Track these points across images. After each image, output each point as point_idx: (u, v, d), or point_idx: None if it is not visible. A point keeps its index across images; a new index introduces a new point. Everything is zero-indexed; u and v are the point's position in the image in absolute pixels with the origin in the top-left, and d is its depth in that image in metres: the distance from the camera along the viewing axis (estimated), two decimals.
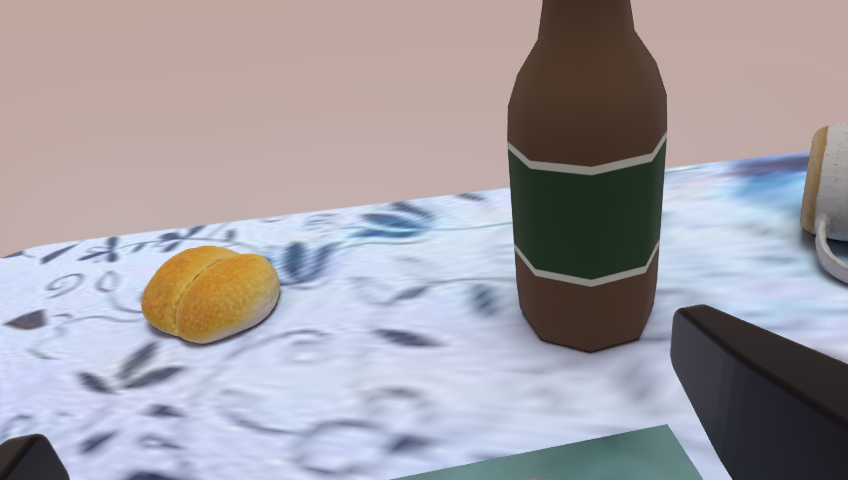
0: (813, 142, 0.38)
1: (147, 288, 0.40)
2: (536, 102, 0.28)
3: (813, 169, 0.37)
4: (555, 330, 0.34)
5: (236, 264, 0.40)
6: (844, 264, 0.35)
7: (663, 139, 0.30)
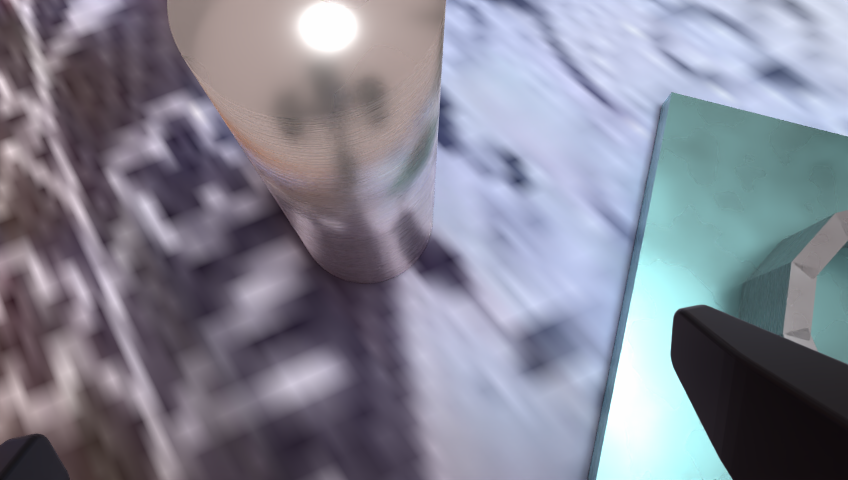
0: None
1: None
2: None
3: None
4: None
5: None
6: None
7: None
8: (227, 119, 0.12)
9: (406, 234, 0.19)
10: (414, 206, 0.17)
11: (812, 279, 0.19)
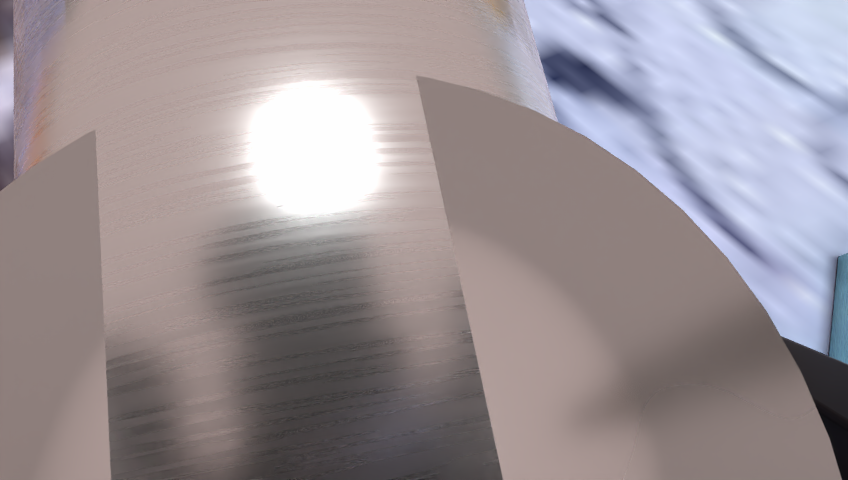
0: None
1: None
2: None
3: None
4: None
5: None
6: None
7: None
8: None
9: None
10: None
11: None
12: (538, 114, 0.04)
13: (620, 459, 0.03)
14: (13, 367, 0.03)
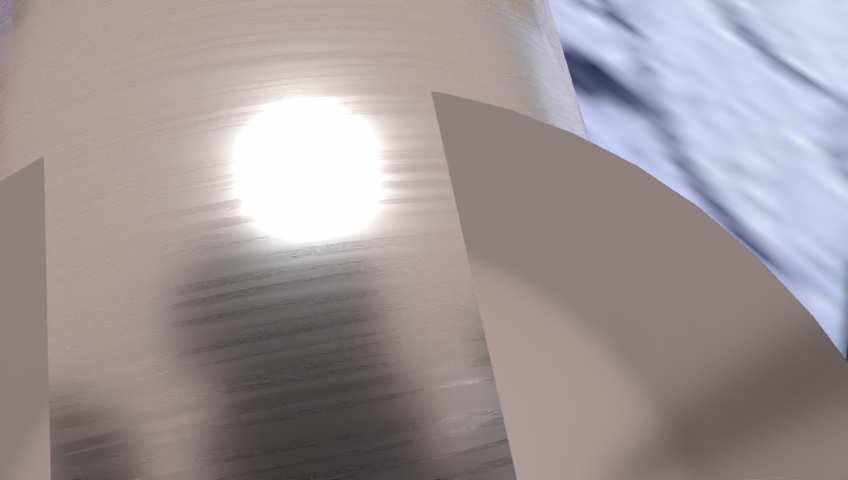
0: None
1: None
2: None
3: None
4: None
5: None
6: None
7: None
8: None
9: None
10: None
11: None
12: (578, 138, 0.03)
13: None
14: None
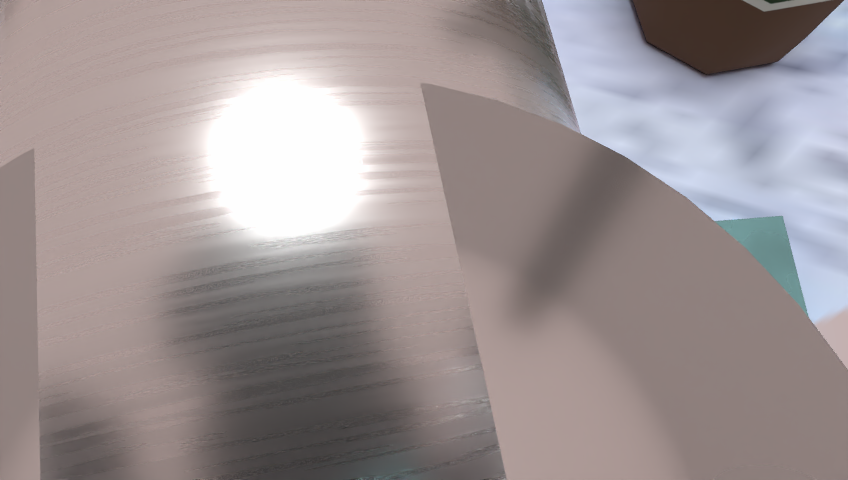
0: None
1: None
2: None
3: None
4: (673, 40, 0.24)
5: None
6: None
7: None
8: None
9: None
10: None
11: None
12: (566, 128, 0.03)
13: None
14: None
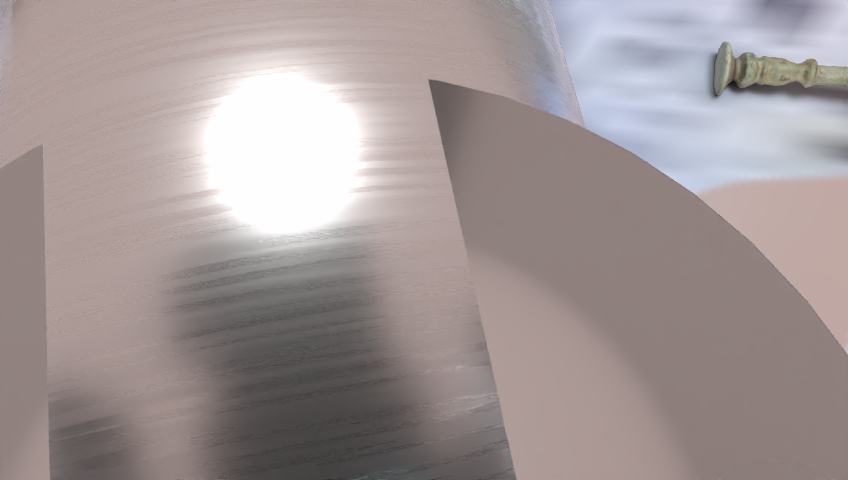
0: None
1: None
2: None
3: None
4: None
5: None
6: None
7: None
8: None
9: None
10: None
11: None
12: (574, 126, 0.03)
13: None
14: None
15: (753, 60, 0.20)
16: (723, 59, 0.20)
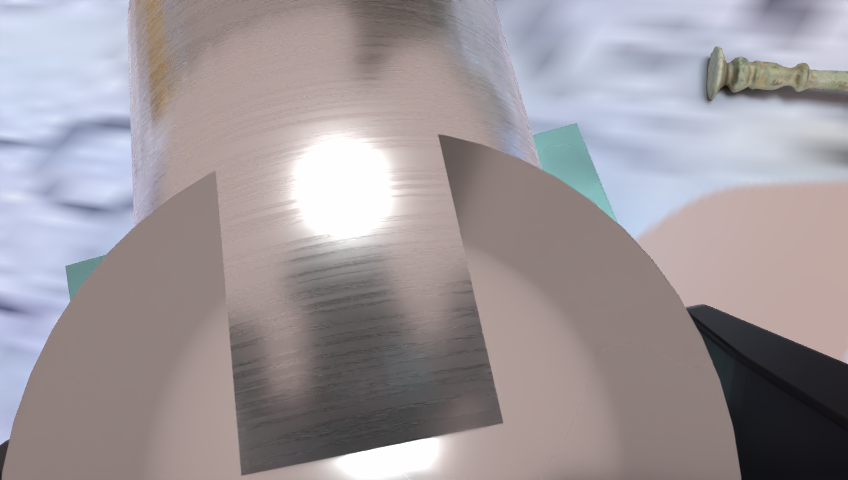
0: None
1: None
2: None
3: None
4: None
5: None
6: None
7: None
8: None
9: None
10: None
11: None
12: (523, 161, 0.05)
13: (577, 392, 0.04)
14: (165, 330, 0.04)
15: (745, 65, 0.20)
16: (715, 64, 0.20)
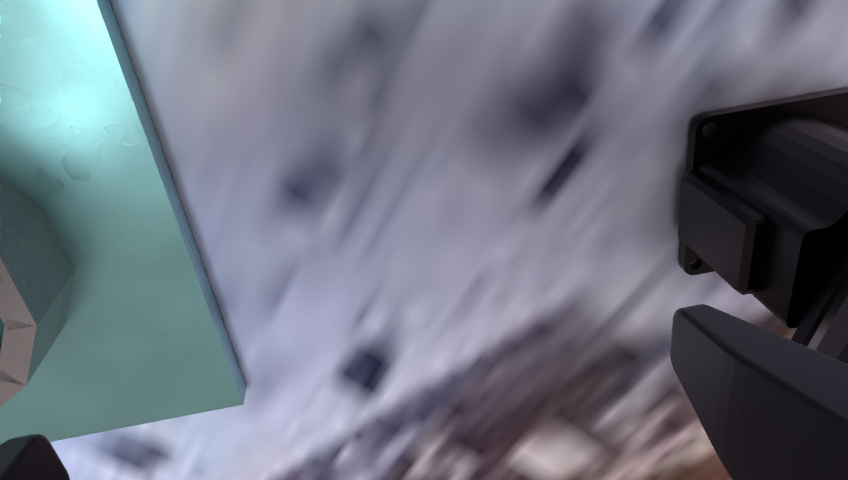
0: None
1: None
2: None
3: None
4: None
5: None
6: None
7: None
8: None
9: None
10: None
11: None
12: None
13: None
14: None
15: None
16: None
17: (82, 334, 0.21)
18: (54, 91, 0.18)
